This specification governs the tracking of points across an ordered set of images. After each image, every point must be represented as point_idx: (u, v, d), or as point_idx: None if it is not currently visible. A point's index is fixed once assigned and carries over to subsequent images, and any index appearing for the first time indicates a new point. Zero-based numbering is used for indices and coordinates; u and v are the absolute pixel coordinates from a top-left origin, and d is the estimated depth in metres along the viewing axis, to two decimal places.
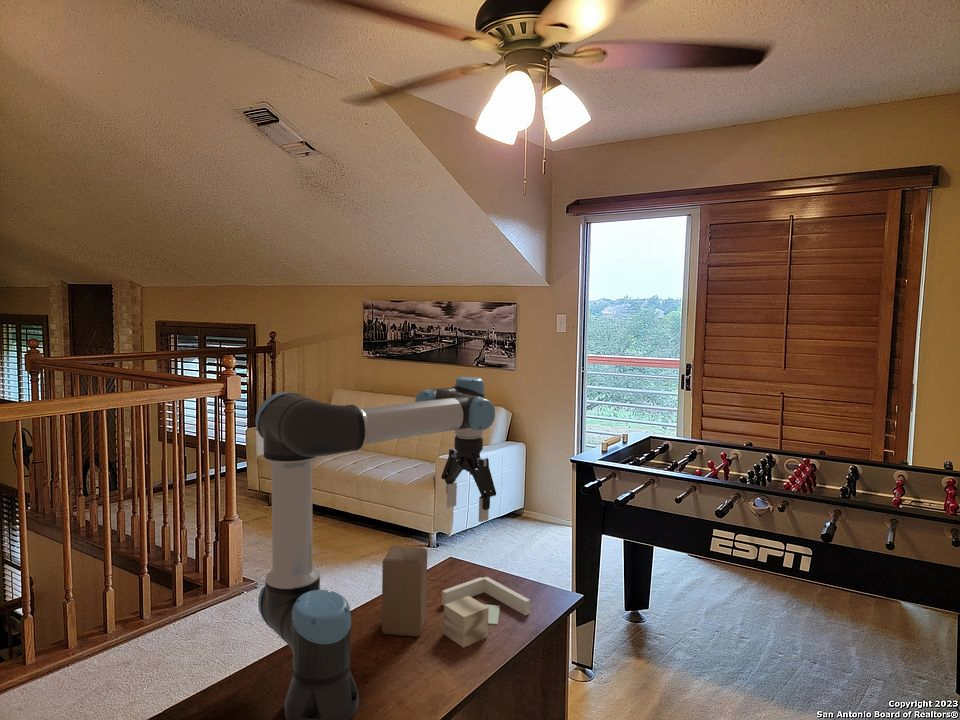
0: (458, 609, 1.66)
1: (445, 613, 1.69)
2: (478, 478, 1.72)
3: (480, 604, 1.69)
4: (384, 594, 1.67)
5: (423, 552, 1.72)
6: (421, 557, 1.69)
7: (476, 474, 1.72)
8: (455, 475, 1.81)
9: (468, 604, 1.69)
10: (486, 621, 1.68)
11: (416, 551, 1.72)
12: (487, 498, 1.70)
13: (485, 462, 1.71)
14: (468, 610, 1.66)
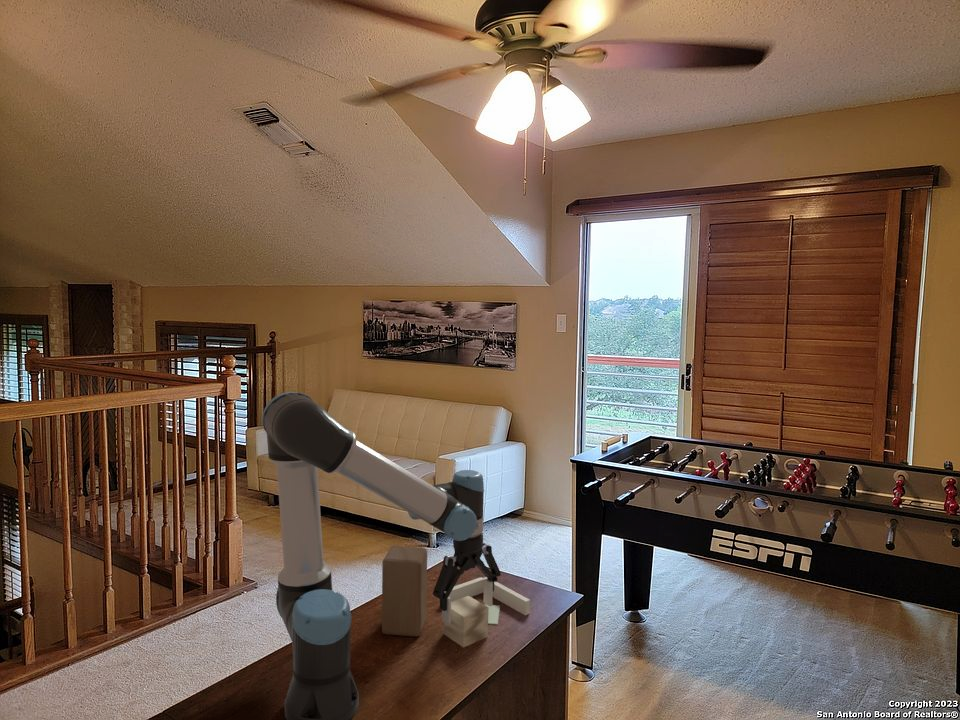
0: (458, 609, 1.66)
1: None
2: (449, 576, 1.65)
3: (480, 604, 1.69)
4: (384, 594, 1.67)
5: (423, 552, 1.72)
6: (421, 557, 1.68)
7: (451, 571, 1.65)
8: (483, 572, 1.71)
9: (468, 604, 1.69)
10: (486, 621, 1.68)
11: (416, 551, 1.72)
12: (440, 598, 1.63)
13: (446, 561, 1.62)
14: (468, 610, 1.66)
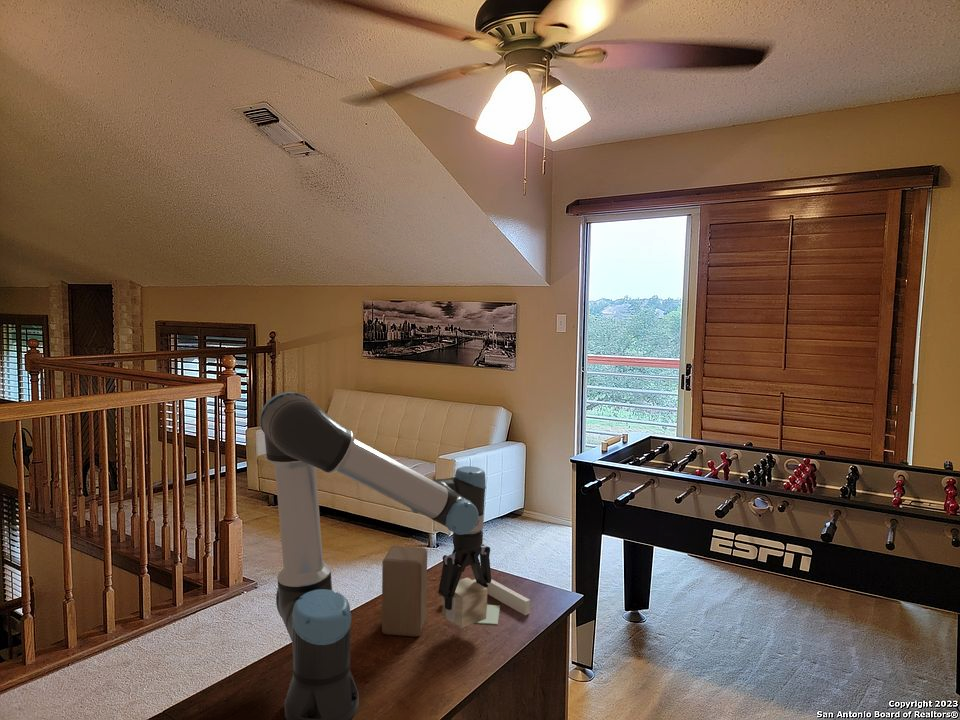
0: (457, 590, 1.66)
1: None
2: (451, 574, 1.65)
3: (479, 585, 1.69)
4: (384, 594, 1.67)
5: (423, 552, 1.72)
6: (421, 557, 1.68)
7: (453, 569, 1.65)
8: (476, 575, 1.70)
9: (467, 585, 1.68)
10: (485, 602, 1.67)
11: (416, 551, 1.72)
12: (445, 597, 1.64)
13: (445, 560, 1.62)
14: (467, 590, 1.66)
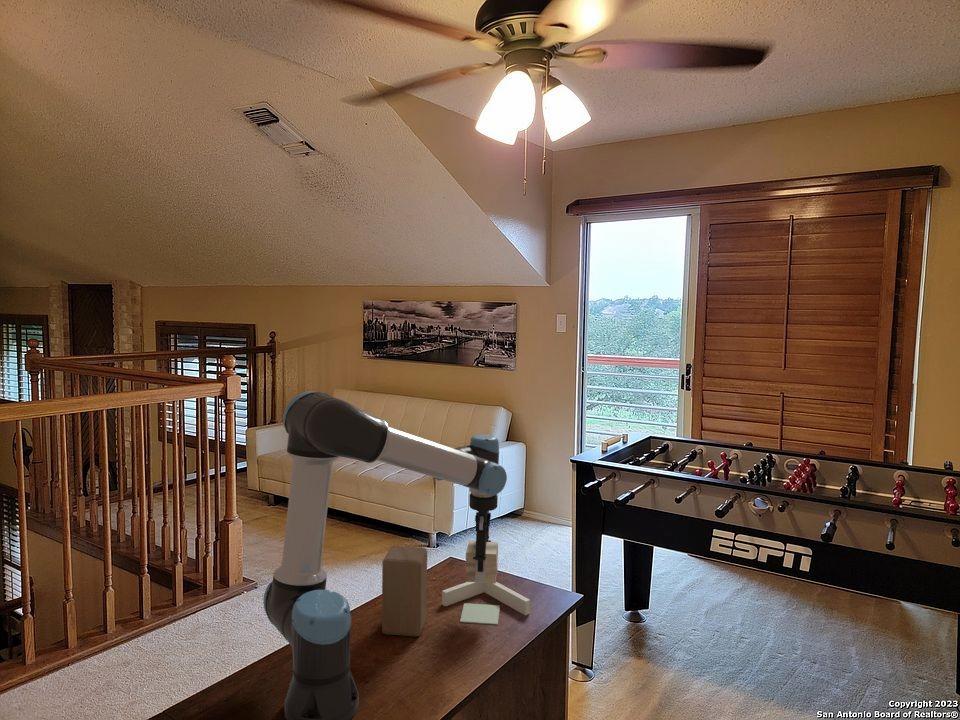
0: None
1: (467, 560, 1.75)
2: None
3: (488, 542, 1.81)
4: (384, 594, 1.67)
5: (423, 552, 1.72)
6: (421, 557, 1.68)
7: None
8: None
9: None
10: (497, 555, 1.82)
11: (416, 551, 1.72)
12: (479, 561, 1.72)
13: (480, 526, 1.70)
14: (489, 549, 1.77)
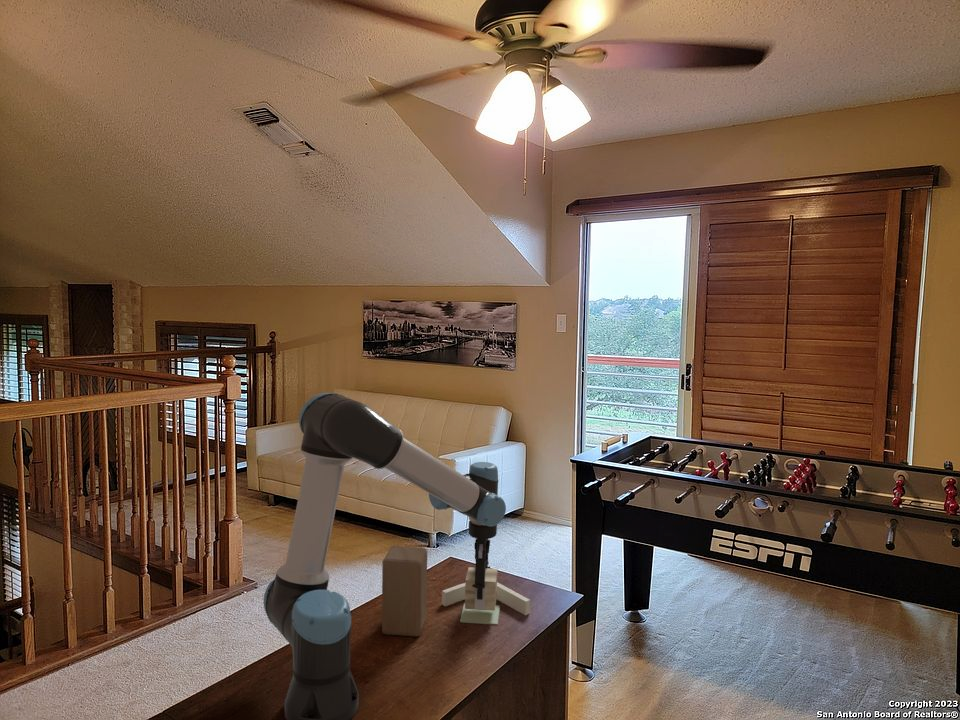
0: None
1: (467, 588, 1.75)
2: None
3: (488, 569, 1.82)
4: (384, 594, 1.67)
5: (423, 552, 1.72)
6: (421, 557, 1.68)
7: None
8: None
9: None
10: None
11: (416, 551, 1.72)
12: (478, 588, 1.73)
13: (480, 554, 1.71)
14: (488, 576, 1.78)
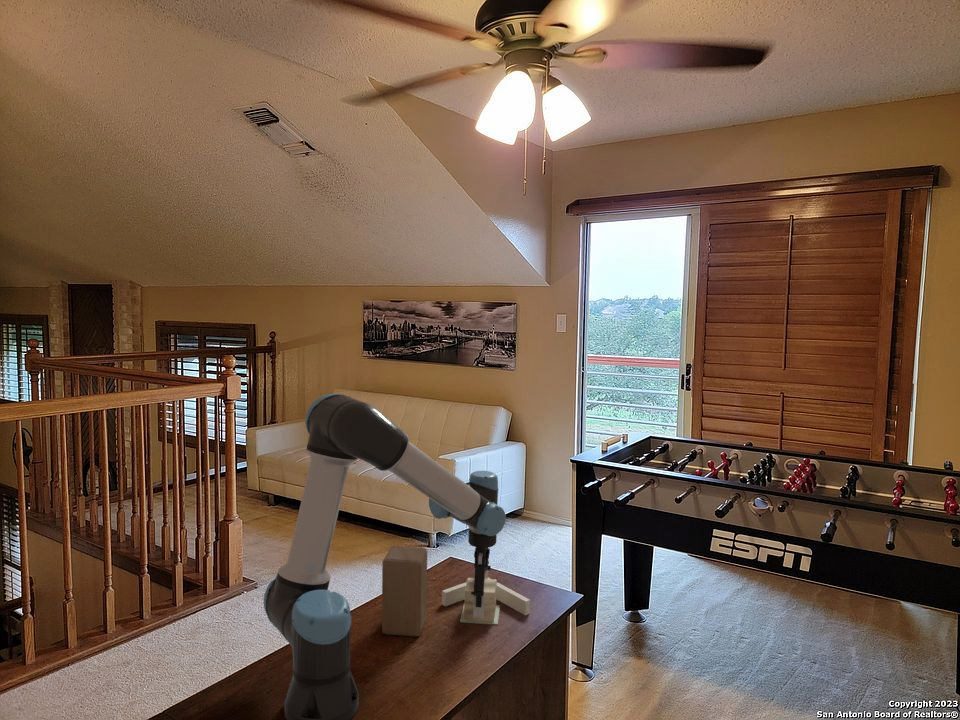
0: None
1: (466, 598, 1.76)
2: None
3: (487, 579, 1.82)
4: (384, 594, 1.67)
5: (423, 552, 1.72)
6: (421, 557, 1.68)
7: None
8: None
9: None
10: None
11: (416, 551, 1.72)
12: (477, 596, 1.71)
13: (480, 559, 1.71)
14: (487, 587, 1.78)
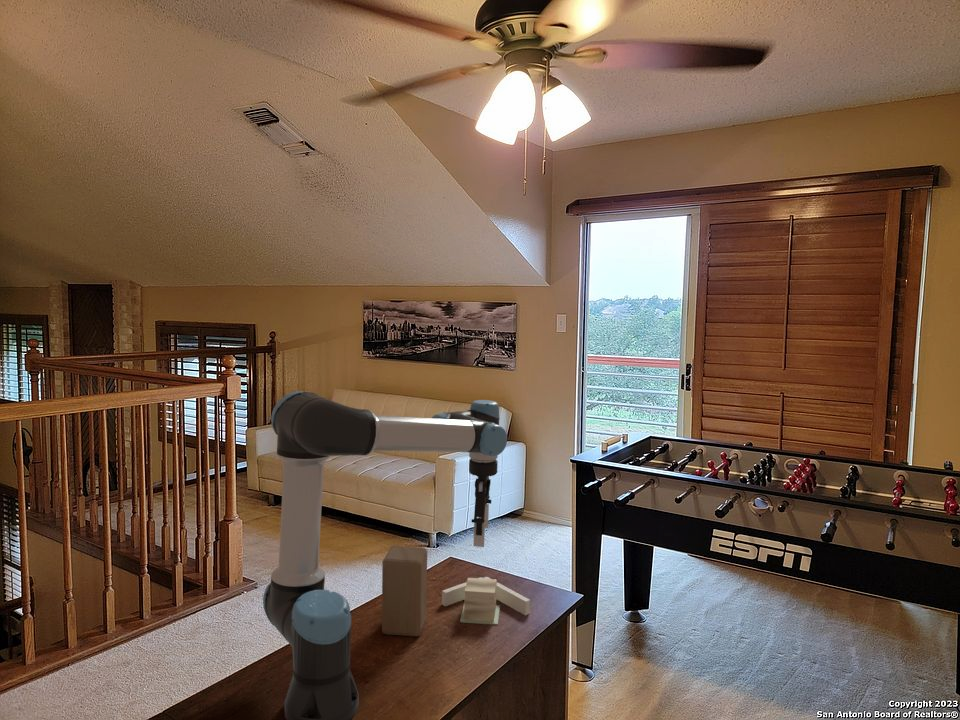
0: (481, 589, 1.77)
1: (466, 598, 1.76)
2: None
3: (487, 579, 1.82)
4: (384, 594, 1.67)
5: (423, 552, 1.72)
6: (421, 557, 1.68)
7: None
8: None
9: (480, 583, 1.80)
10: None
11: (416, 551, 1.72)
12: (478, 524, 1.69)
13: (480, 487, 1.69)
14: (487, 587, 1.78)
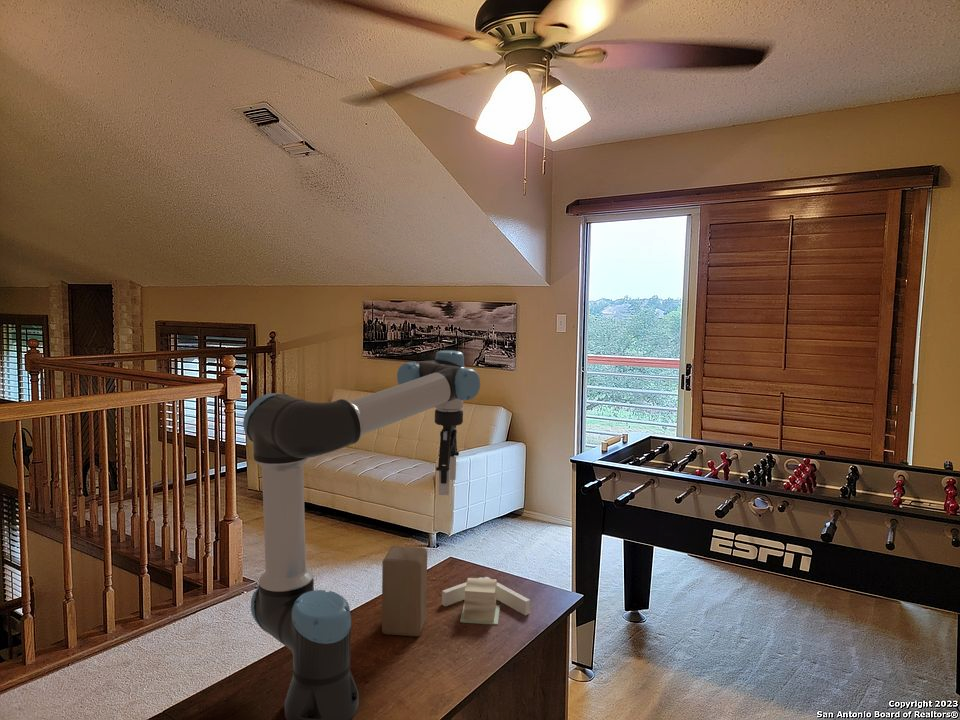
0: (481, 589, 1.77)
1: (466, 598, 1.76)
2: None
3: (487, 579, 1.82)
4: (384, 594, 1.67)
5: (423, 552, 1.72)
6: (421, 557, 1.68)
7: None
8: (450, 448, 1.83)
9: (480, 583, 1.80)
10: None
11: (416, 551, 1.72)
12: (442, 472, 1.69)
13: (445, 435, 1.70)
14: (487, 587, 1.78)
